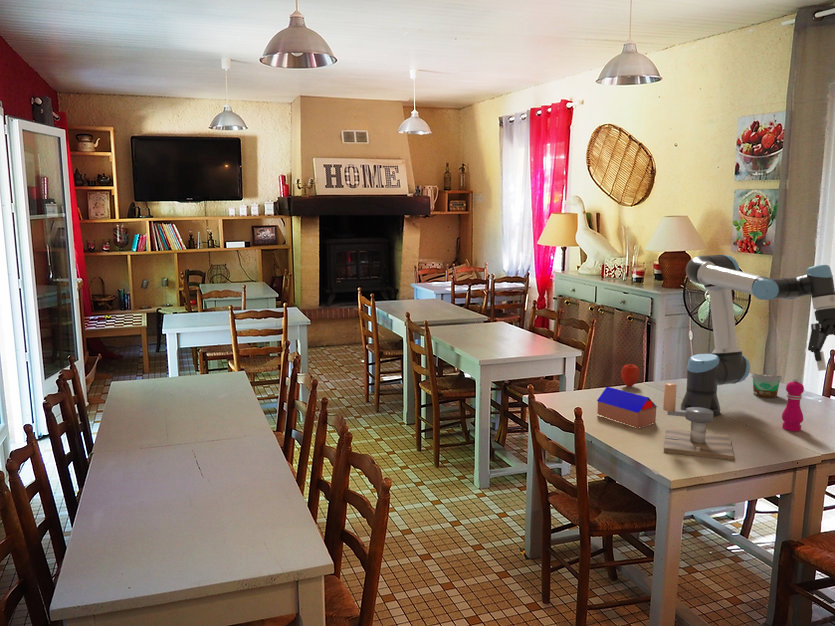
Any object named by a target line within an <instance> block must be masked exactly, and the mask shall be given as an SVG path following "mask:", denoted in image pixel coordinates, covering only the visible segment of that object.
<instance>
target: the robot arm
mask: <svg viewBox="0 0 835 626" xmlns="http://www.w3.org/2000/svg"><path fill="white" fill-rule="evenodd" d="M685 266H686V267H685V274H686V276H687V279H688V280H689V281H690V282H692V283H695V284H699V285H703V286H704V289H705V290H707V291H708V293H709V305H710V311H711V312H710V313H711V321H712V330H713V331H712V333H713V341H714V349H713V351H712V352H711V353H699V354H698V353H697V354H694V355H692V356H690V357H689V358H688V362H687V363H688V364H687V367H686V368H687V373H686V388H685V389H686V391H685V394H684V396H683V398H682V401H681V404H680V410H685V411H686V409H687V408H690V407H701V408H706V409H710V410H712V411H713V417H714V416H715V417H716V416H719V415H720V414H721V405H720V401H719V398H718V394H717V393H718V386H721V385H729V384H731V385H735V384H737V383H741V382H743V381H745V380H746V379H747V378H748V376H749V374H750V372H751V364H750V361H749V359H747V357H746V356H745V355H743V351H742V349H741V348H739V347H738V340H737V331H736V329H737V328H736V321H735V311H734V303H733V301H734V300H733V294H732V293H733V291H736V292H739V293H740V292H741V293H744V294H748V295H751V296H754V297H755V298H756V299H757V300H761V301H763V300H764V301H770V300H779V299H781V300H783V299H784V300H793V299H794V300H795V299H797V298H802V297H805V296H810V297H811V303H812V306H813V310H815V311H814V316H815V321H816V322H815V323H811V324H810V327H811V330H810V331H811V332H810V336H809V337H810V338H809V341H808V347H807V350H808V352H809V351H810V352H811V353H813V356H814V359H815V362H816V363H817V364H816V365H817V370H818V371H819V372H820V371H821V372H822V371H827V370H828V369H827V363H826V360H825V354H824V351H822V349H823V347H824V344H825V343H826V340H827V337H828V336H831V335H833V336H835V283H834V275H833V274H832V273H833V272H832V269H831V267H830V265H828V264H818V265H813V266H810V267H807V268H806V274H804V275H799V276H794V277H793V276H792V277H779V278H778V277H777V278H773V277H767V276H763V275H757V274H756V273H755V274H754V273H751V272H745V271H741V270H740V265H739V263H738V261H737V260H736V259H735V258H733V256H731V255H727V254H713V255H712V254H710V255H697V256H694V257H693V258H691V259H690V260H689V261H688V263H687V264H686V265H685Z"/></svg>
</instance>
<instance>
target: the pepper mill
mask: <svg viewBox="0 0 835 626" xmlns="http://www.w3.org/2000/svg"><path fill="white" fill-rule="evenodd" d="M785 390H786V398H787V401H786V402H787V403H786V406H785V408H784V409H783V411H782V414H781V419H782V420H783V423H782V429H784V430H786V431H790V432H800V431H802V423H803V421H804V414H803V411H802V409H801V400H802V399H803V398H802V397H803V396H802V394H803V393H804V392H805V387H804V385H803V383H801V382H800V381H799V379H798V377H794V378H793V379H792V381H790V382H788V383H787V384H786V386H785Z"/></svg>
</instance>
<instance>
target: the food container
mask: <svg viewBox="0 0 835 626" xmlns="http://www.w3.org/2000/svg"><path fill="white" fill-rule="evenodd" d="M750 377H751V378H752V389H753V395H754V396H755V395H756V397H758V396H759V397H758V398H763V397H764V398H765V399H775V398H777V397H778V392H779V386H780V382H781V381H782V380H783V378H782V374H781V373H780V374H779V375H771V374H757V373H754V372H752V374H751V376H750Z"/></svg>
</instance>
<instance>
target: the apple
mask: <svg viewBox="0 0 835 626" xmlns="http://www.w3.org/2000/svg"><path fill="white" fill-rule="evenodd" d="M620 376H621V380H622V381H623V383H624V385H625V386H626V387H627V386H628V387H627V388H631V387H633V386H634V385H635V384H636V383H637V381H638V379H639V378H640V369H639V367H638V366H637V365H636V364H632V363H631V364H630V363H629V364H628V363H627V364H625V365H624V366H623V367H622V368H621V370H620Z"/></svg>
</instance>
